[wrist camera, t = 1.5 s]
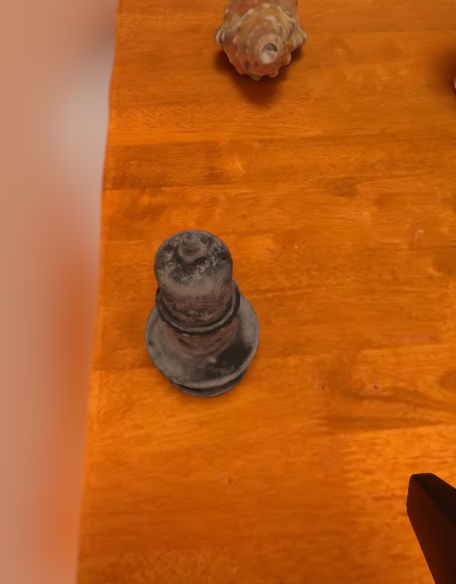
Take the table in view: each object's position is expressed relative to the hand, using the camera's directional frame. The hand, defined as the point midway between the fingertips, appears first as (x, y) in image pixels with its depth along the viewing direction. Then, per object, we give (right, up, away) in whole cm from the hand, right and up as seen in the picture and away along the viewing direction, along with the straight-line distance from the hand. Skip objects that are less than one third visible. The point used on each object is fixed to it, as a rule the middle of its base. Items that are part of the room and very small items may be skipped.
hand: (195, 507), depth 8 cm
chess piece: (-1, +1, +16) cm, 16 cm away
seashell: (+4, +25, +28) cm, 37 cm away
